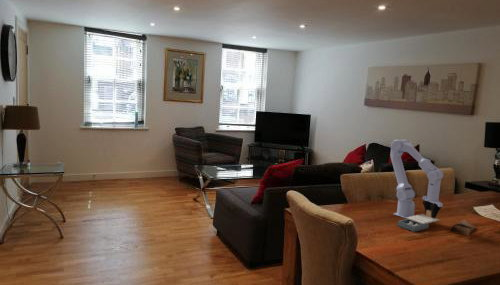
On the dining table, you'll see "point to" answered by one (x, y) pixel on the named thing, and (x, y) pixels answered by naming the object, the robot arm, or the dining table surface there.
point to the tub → (412, 225)
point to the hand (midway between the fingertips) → (430, 216)
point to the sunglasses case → (463, 227)
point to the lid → (423, 218)
